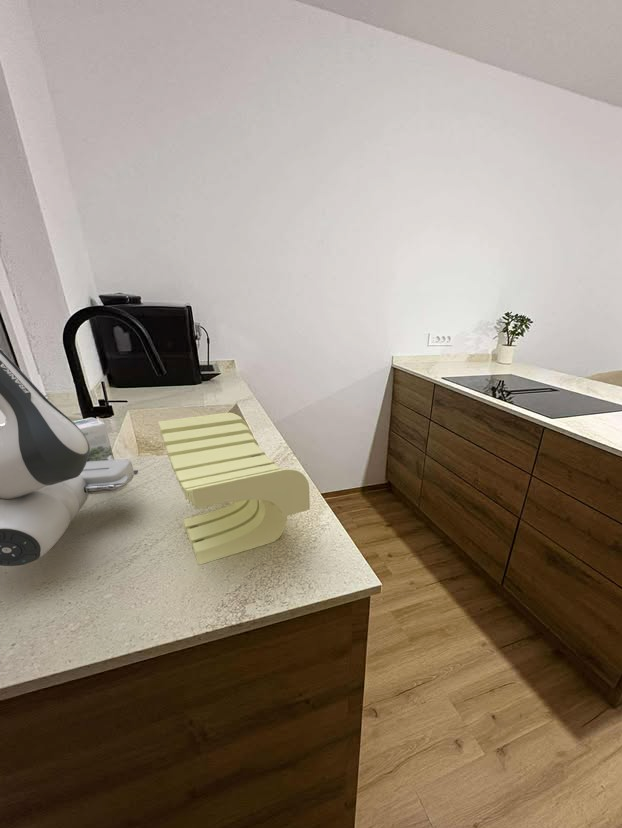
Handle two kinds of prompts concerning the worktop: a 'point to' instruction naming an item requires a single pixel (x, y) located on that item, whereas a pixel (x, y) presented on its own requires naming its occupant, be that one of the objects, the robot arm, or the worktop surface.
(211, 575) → the worktop surface
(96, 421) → the syrup box
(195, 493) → the slatted curved stool
